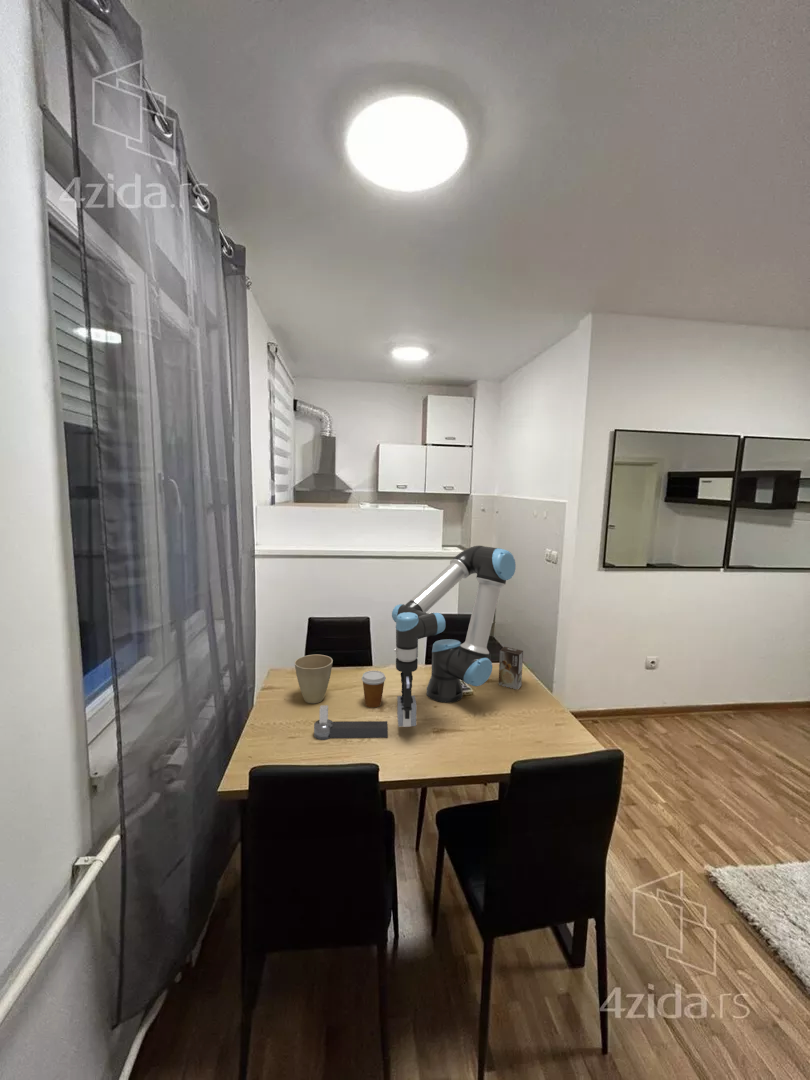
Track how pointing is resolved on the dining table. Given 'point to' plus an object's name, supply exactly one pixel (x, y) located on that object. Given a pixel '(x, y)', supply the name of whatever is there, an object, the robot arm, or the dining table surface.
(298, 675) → the plant pot
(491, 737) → the dining table surface
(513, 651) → the coffee box
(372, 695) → the disposable coffee cup
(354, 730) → the ratchet
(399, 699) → the socket
